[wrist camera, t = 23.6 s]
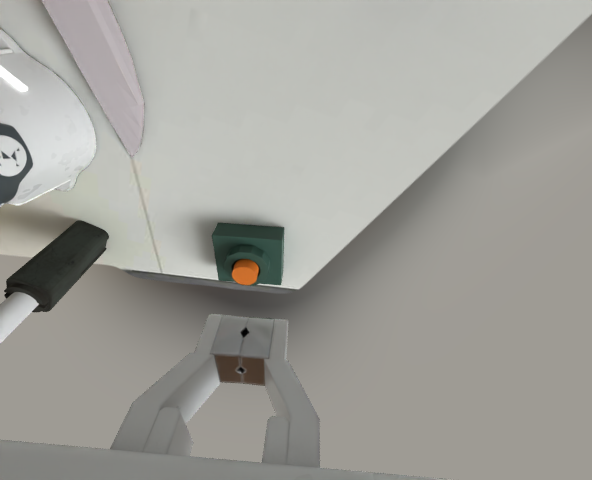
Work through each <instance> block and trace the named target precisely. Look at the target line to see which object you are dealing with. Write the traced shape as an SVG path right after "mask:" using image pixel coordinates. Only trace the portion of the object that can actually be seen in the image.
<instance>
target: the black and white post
mask: <svg viewBox="0 0 592 480" xmlns="http://www.w3.org/2000/svg"><path fill="white" fill-rule="evenodd" d="M108 238H109V236H108V234H107V232H106V231H104V230H102V229H100V228H98V227H95V226H93V225H91V224H88V223H86V222H84V221H76V222H75V223H74V224H73V225H72V226H70V227H69V228H68V229H67V230H66V231H64V232H63V233H62V234H61V235H60V236H58V237H57V238H56V239H55V240H54V241H52V242H51V243H50V244H49V245H48V246H46V247H45V248H44V249H43V250H42V251H40V252H39V253H38V254H37V255H36V256H34V257H33V258H32V259H31V260H30V261H28V262H27V263H26V264H25V265H24V266H22V268H20V269H19V270H18V271H17V272H15V273H14V274H13V275H12V276H10V277H9V278H8V279H7V281H6V283H7V288H6V290H4V292H7V293H6V294H5V297H6V300H5V301H4V302H2V303H1V304H0V343H1V342H2V341H3V340H4V339H5V338H6V337H7V336H8V335H9V334H10V333H11V332H12V331H13V330H14V329H15V328H16V327H17V326H18V325H19V324H20V323H21V322H22V321H23V320H24V319H25V318H26V317H27V316H28V315H29V314H30V313H31V312H40V311H43V312H47V311H50V310H51V309H52V308H53V307H54V306H55V304H56V303H57V302H58V301H59V300H60V299H61V298H62V297H63V296H64V295H65V294H66V292H67V291H68V290H69V289H70V288H71V287H72V286H73V285H74V284H75V283H76V282H77V281H78V280H79V278H80V277H81V276H82V275H83V274H84V273H85V272H86V271H87V270H88V269H89V268H90V267H91V265H92V264H93V263H94V262H95V261H96V260H97V259H98V258H99V257H100V256H101V255H102V253H103V252H104V251H105V250H106V248H105V246H106V242H107V239H108Z"/></svg>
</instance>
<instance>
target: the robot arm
mask: <svg viewBox="0 0 592 480" xmlns="http://www.w3.org/2000/svg"><path fill="white" fill-rule="evenodd" d="M95 152H96V136H95V131H94V127H93V124H92V122H91V119H90V117H89V115H88V113H87V111H86V109H85V108H84V106H83V104H82V103H81V101H80V100H79V98H78V97H77V96H76V95H75V93H74V92H73V91H72V90H71V89H70V87H69V86H68V85H67V84H66V83H65V82H64V81H63V80H62V79H60V78H59V77H58V76H57V75H56V74H55V73H53V72H52V71H51V70H50V69H48V68H47V67H45V66H44V65H42V64H41V63H39V62H38V61H36V60H34V59H33V58H31V57H30V56H29V55H27V54H26V53H25V52H24V51H23V50H22V49H21V48H20V47H19V46H18V45H17V44H16V43H15V41H14V40H13V39H12V38H11V37H10V36H9V35H8V34H7V33H5V32H4V31H3V30H2V29H1V28H0V208H1V206H3V205H4V204H6V203H7V204H14V205H22V204H25V203H27V202H29V201H31V200H33V199H35V198H37V197H39V196H41V195H43V194H45V193H47V192H49V191H51V190H53V189H55V190H59V191H68V190H70V189H72V188H73V187H74V185H75V183H76V180H77V176H78V174H79V173H80V172H81V171H83V170H84V169H85V168H87V167H88V166H89V165H90V163H91V162H92V160H93V158H94V155H95ZM287 338H288V320H279V319H271V318H255V317H249V318H248V317H238V316H228V315H218V314H210V315H209V316H208V318H207V320H206V323H205V326H204V328H203V331H202V333H201V336H200V339H199V341H198V344H197V347H196V350H195V352H194V353H189V354H188V355H187V356H186V357H185V358H183V359H182V360H181V361H180V362H179V363H178V364H177V365H175V366H174V367H173V368H172V369H171V370H170V371H168V372H167V373H166V374H165V375H164V376H163V377H162V378H160V379H159V380H158V381H157V382H156V383H155V384H154V385H152V386H151V387H150V388H149V389H148V390H147V391H146V392H144V393H143V394H142V395H141V396H140V397H138V398H137V399H136V400H135V401H134V402H133V403H132V405H131V407H130V409H129V411H128V413H127V415H126V417H125V419H124V421H123V423H122V425H121V427H120V430H119V431H118V433H117V435H116V438H115V440H114V442H113V444H112V446H111V448H110V449H100V448H88V447H78V446H66V445H55V444H44V443H32V442H21V441H9V440H0V480H452V479H441V478H430V477H417V476H407V475H395V474H384V473H373V472H362V471H350V470H339V469H327V468H320V443H319V442H320V440H319V439H320V432H319V429H320V428H319V417H318V415H317V413H316V412H315V410H314V408H313V406H312V404H311V402H310V400H309V398H308V396H307V395H306V393H305V391H304V389H303V387H302V385H301V383H300V381H299V380H298V378H297V376H296V374H295V372H294V370H293V368H292V366H291V365H290V363H289V361H287V360H286V354H287ZM220 382H225V383H243V384H252V385H261V386H265V388H266V390H267V393H268V395H269V398H270V401H271V403H272V405H273V408H274V411H275V413H276V416H272V417H270V418H269V419H268V423H267V430H266V436H265V444H264V451H263V458H262V463H259V462H248V461H237V460H225V459H214V458H202V457H191V456H190V453H191V449H192V446H193V441H192V438H191V436H190V434H189V431H188V429H187V426H186V423H187V422H188V421H189V420H190V419H191V417H192V416H193V415H194V414H195V413H196V411H197V410H198V409H199V408H200V407H201V406H202V404H203V403H204V402H205V401H206V400H207V398H208V397H209V396H210V395H211V394H212V392H213V391H214V390H215V389H216V388H217V387H218V385H219V384H220Z"/></svg>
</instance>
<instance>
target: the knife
mask: <svg viewBox="0 0 592 480" xmlns="http://www.w3.org/2000/svg"><path fill="white" fill-rule="evenodd" d="M42 2H43V4H44V5H45V7H46V9H47V11H48V13H49V14H50V16H51V18H52V20H53V22H54V23H55V25H56V27H57V29H58V31H59V32H60V34H61V36H62V38H63V40H64V41H65V43H66V45H67V47H68V49H69V50H70V52H71V54H72V56H73V58H74V59H75V61H76V63H77V65H78V67H79V68H80V70H81V72H82V74H83V75H84V77H85V79H86V81H87V83H88V84H89V86H90V88H91V90H92V92H93V93H94V95H95V97H96V99H97V100H98V102H99V104H100V105H101V107H102V109H103V111H104V112H105V114H106V116H107V117H108V119H109V121H110V122H111V124H112V126H113V127H114V129H115V131H116V132H117V134H118V136H119V137H120V139H121V141H122V142H123V144H124V146H125V147H126V149H127V151H128V152H129V154H130V156H131V157H133V156H134V155H135V154H136V153H137V152H138V149H139V147H140V145H141V141H142V135H143V124H144V100H143V97H142V93H141V89H140V86H139V82H138V78H137V75H136V71H135V68H134V64H133V60H132V57H131V54H130V52H129V49H128V47H127V44H126V42H125V39H124V36H123V34H122V31H121V29H120V27H119V25H118V22H117V20H116V18H115V16H114V13H113V11H112V9H111V7H110V4H109V2H108V0H42Z"/></svg>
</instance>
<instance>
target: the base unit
mask: <svg viewBox="0 0 592 480" xmlns="http://www.w3.org/2000/svg"><path fill="white" fill-rule="evenodd" d="M212 239H213V246H214V252H215V259H216V265H217V272H218V278H219V280H220V281H233V282H236V281H235V280H234V279H233V278H232V271H233V268H234V265H235V263H236V262H237V261H238V260H240V259H249V260H252V261H254V262H255V263H256V264H257V265H258V267H259V272H258V276H257V280H256V281H255V282H254V283H253V284H251V285H248V286H254V285H257V284H272V285H281V282H282V275H283V254H284V227H270V226H256V225H242V224H229V223H218V224H217V226H216V228H215V230H214V232H213V234H212ZM241 285H242V284H241Z"/></svg>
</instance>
